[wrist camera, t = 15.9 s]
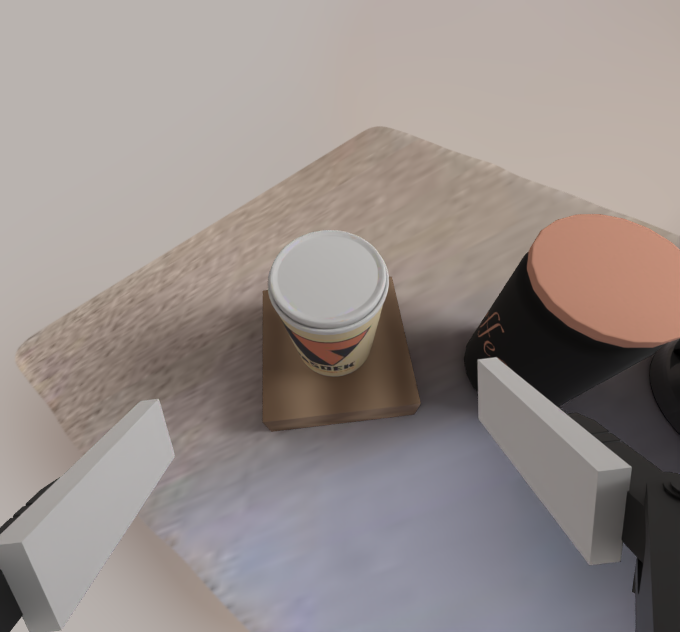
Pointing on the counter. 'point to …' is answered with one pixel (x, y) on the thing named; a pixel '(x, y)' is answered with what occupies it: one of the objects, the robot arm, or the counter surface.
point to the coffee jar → (582, 306)
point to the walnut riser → (337, 377)
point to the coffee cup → (329, 298)
